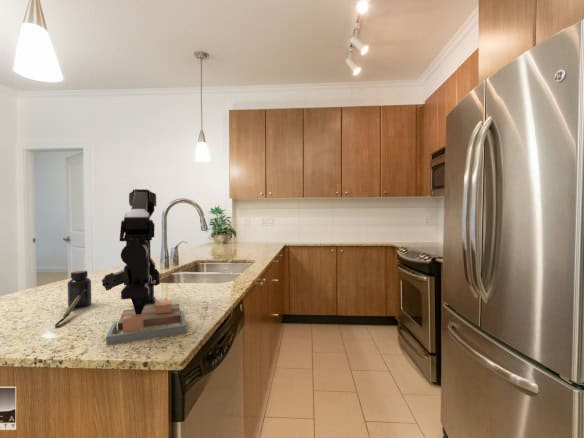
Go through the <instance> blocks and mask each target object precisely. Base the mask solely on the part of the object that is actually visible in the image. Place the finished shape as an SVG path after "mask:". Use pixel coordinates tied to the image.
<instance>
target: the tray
mask: <svg viewBox="0 0 584 438" xmlns="http://www.w3.org/2000/svg"><path fill="white" fill-rule="evenodd" d="M180 323H181V324H179V325H172V326H166V327H160V328H159V327H157V328H152V329H151V328H150V329H145V330H143V331H136V332H129V333H123V332H122V333H117V331H118V322H116V321H115V322H113V323H112V324H111V326H110V328H109V330H108V332H107V334H106V336H105V344H106V346H107V345H108V346H110V345H116V344H122V343H123V344H124V343H128V342H133V341H134V342H135V341H142V340H150V339H156V338H162V337H169V336H177V335H183V334H186V333H187V324H186V318H185V313H180Z"/></svg>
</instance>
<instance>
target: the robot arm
mask: <svg viewBox="0 0 584 438" xmlns="http://www.w3.org/2000/svg"><path fill="white" fill-rule="evenodd" d="M128 204H129V206H130V207H131V209H130V211H128V212H126V213H125V214H124V217H123V219H122V220H121V221H120V231H119V232H120V234H119V242H126V243H125V246H124V247H123V248H122V249H121V251H120V259H121V261H122V262H123V263H124V264H125V266H123V269H122V270H119V271H116V272H114V273H113V272H110V273H108V274H106V275H104V276H103V278H102V279H101V282H102V283H101V284H102V287H104V289H105V291H109V290H112V289H113V288H115V287H118V286H120V285H122V284H123V286H124V287H123V288H122V290H121V291H120V300H131V302H132V306H133V309H134V310H135V313H136V315H137V314H141V313H142V311H143V308H145V305H149V304H156V297H155V286H159V285H160V283H161V282H160V281H161V280H160V279H161V278H160V272H159V271H158V268H156V262H155V261H154V260H153V258H152V257H151V254H152V253H151V241H153V238H155V223H154V221H153V219H151V217H152V216H153V213H154V212H155V207H157V193H154V192H152V191H151V190H150V189H148V188H134V189H133V188H132V191H131V192H129V193H128Z"/></svg>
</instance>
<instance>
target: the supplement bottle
mask: <svg viewBox="0 0 584 438" xmlns="http://www.w3.org/2000/svg"><path fill="white" fill-rule="evenodd" d="M88 276H89V275H88V270H78V271H77V270H76V271H72V272H71V273H70V280H68V282H67V306H68V305H69V303H70V302H71V301H72V300H73V299H74V298H75V297H77V296H78V295H79V294H80V293H82V292H83V290H85V289H86V292H84V293H83V294H82V295H81V297H80V299H79V300H78V302H77V304H76V305H75V307H74V308H73V309H77V308H83V307H84V308H85V307H87V306H88V307H89V306H90V305H92V302H93V301H92V280H91V279H90V278H88ZM72 303H73V302H72ZM72 303H71V304H72ZM71 304H70V305H69V306H68V308H69V307H70V306H71Z"/></svg>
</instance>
